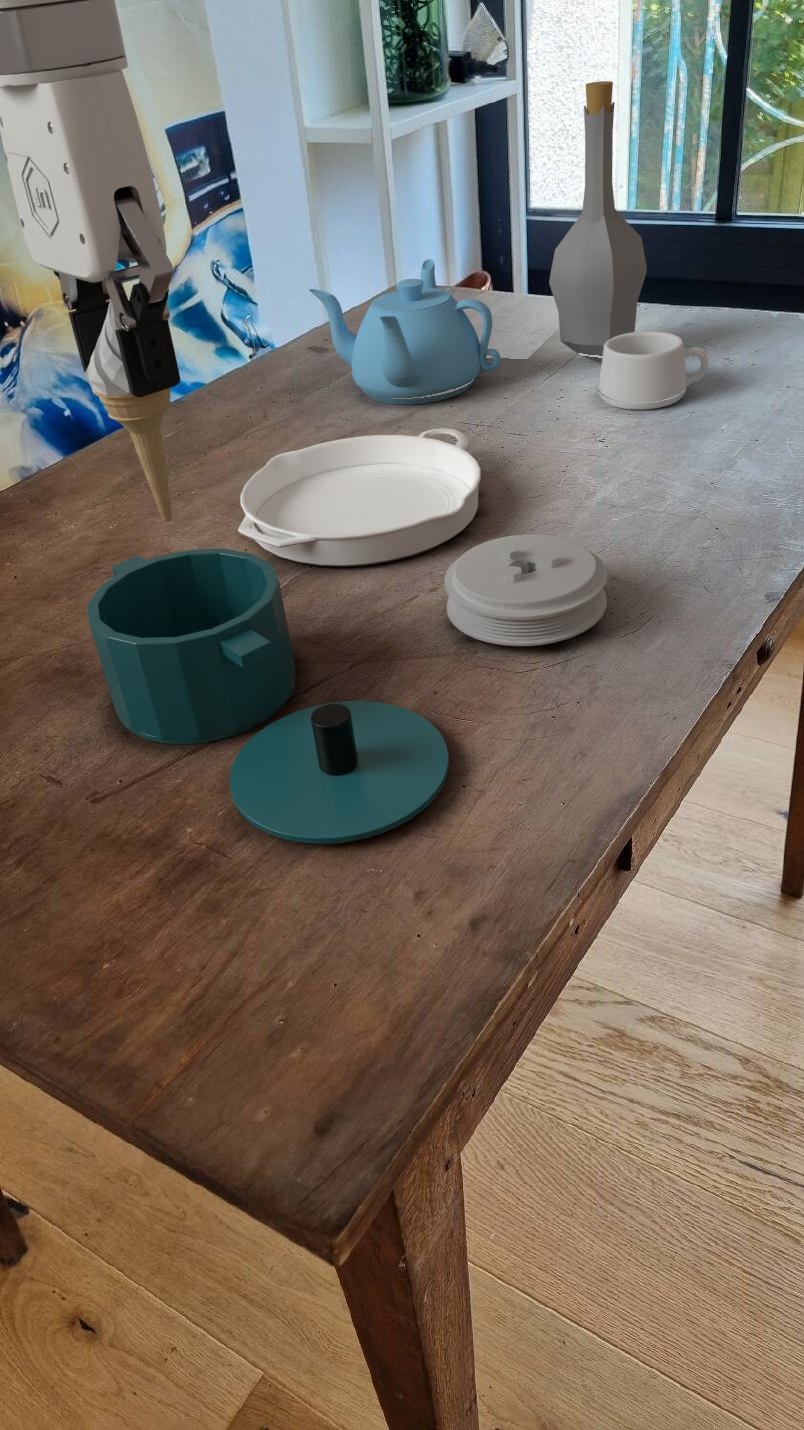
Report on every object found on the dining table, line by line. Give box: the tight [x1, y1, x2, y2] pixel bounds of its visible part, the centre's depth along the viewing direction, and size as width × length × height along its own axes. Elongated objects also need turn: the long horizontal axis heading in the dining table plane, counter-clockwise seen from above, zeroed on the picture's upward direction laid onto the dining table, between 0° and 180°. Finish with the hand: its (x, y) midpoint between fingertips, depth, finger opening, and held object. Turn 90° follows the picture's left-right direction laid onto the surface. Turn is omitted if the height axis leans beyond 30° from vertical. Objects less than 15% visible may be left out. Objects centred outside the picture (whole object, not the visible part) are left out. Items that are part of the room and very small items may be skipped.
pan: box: [237, 427, 482, 568], centre depth 106 cm, size 24×27×4 cm
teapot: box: [308, 258, 502, 405], centre depth 132 cm, size 17×19×12 cm
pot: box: [86, 548, 297, 745], centre depth 82 cm, size 14×19×8 cm
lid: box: [444, 533, 608, 647], centre depth 87 cm, size 13×13×5 cm
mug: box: [598, 330, 709, 410], centre depth 123 cm, size 12×10×6 cm
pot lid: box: [228, 700, 450, 845], centre depth 73 cm, size 15×15×5 cm
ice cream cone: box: [84, 299, 173, 522], centre depth 71 cm, size 6×6×15 cm
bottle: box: [548, 80, 648, 363], centre depth 127 cm, size 11×11×30 cm
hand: (131, 377), depth 69 cm, fingers closed on ice cream cone, 5 cm apart
